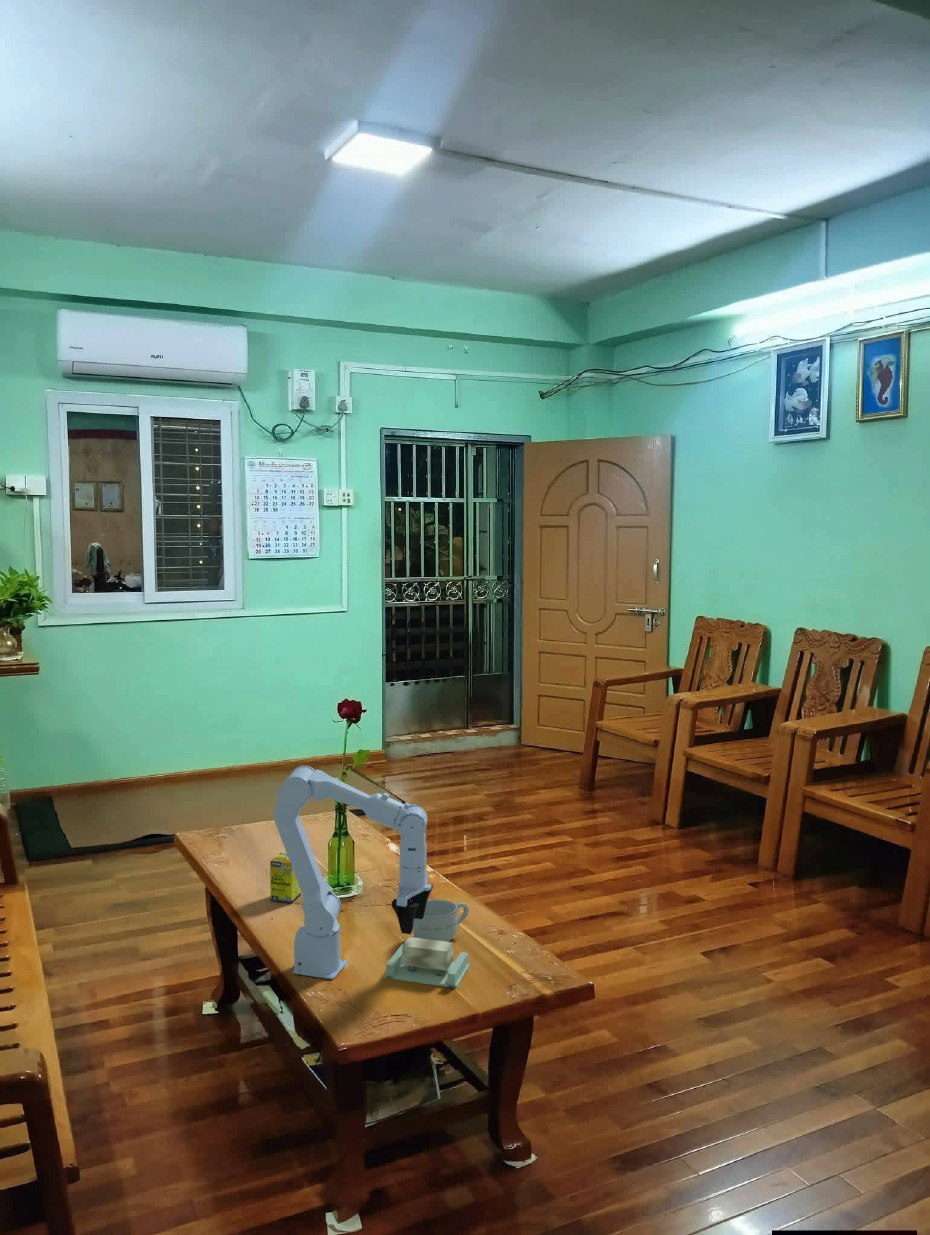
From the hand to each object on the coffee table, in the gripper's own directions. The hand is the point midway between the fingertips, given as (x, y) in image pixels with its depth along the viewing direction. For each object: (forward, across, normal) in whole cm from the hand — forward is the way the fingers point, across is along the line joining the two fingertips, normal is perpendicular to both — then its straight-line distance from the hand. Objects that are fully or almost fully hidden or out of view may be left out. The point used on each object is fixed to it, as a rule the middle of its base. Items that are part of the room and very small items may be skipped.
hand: (412, 925), depth 200 cm
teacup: (+10, +16, -1) cm, 20 cm away
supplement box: (+11, +27, +44) cm, 53 cm away
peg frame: (+10, 0, -3) cm, 11 cm away
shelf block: (+8, 0, -3) cm, 9 cm away
